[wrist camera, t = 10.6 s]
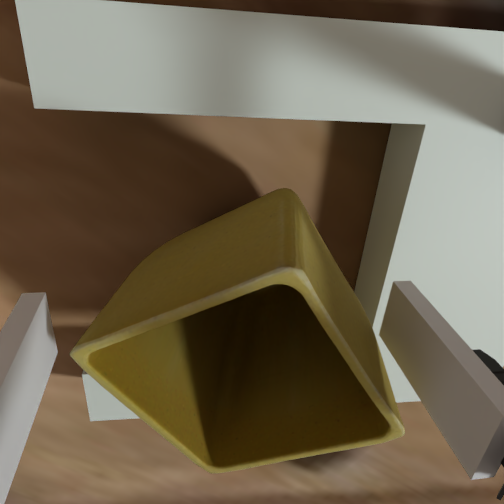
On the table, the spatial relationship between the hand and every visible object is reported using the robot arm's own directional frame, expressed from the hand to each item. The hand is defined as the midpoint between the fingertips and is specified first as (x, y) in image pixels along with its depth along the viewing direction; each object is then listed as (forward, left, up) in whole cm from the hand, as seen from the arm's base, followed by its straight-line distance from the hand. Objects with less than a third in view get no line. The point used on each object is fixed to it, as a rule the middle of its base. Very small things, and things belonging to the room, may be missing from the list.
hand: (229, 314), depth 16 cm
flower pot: (+2, 0, -6) cm, 6 cm away
